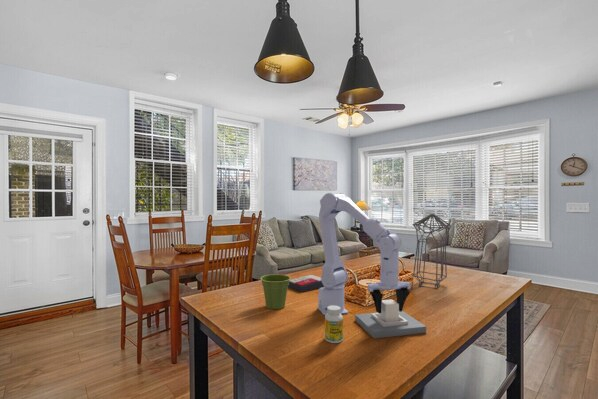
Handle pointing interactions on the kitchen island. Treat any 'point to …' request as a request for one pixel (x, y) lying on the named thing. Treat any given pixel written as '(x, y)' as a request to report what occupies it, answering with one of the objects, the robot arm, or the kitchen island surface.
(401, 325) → the display plinth
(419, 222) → the geometric lantern
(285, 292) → the plant pot
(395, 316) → the cream block
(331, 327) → the supplement bottle
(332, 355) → the kitchen island surface
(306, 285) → the dark product box
